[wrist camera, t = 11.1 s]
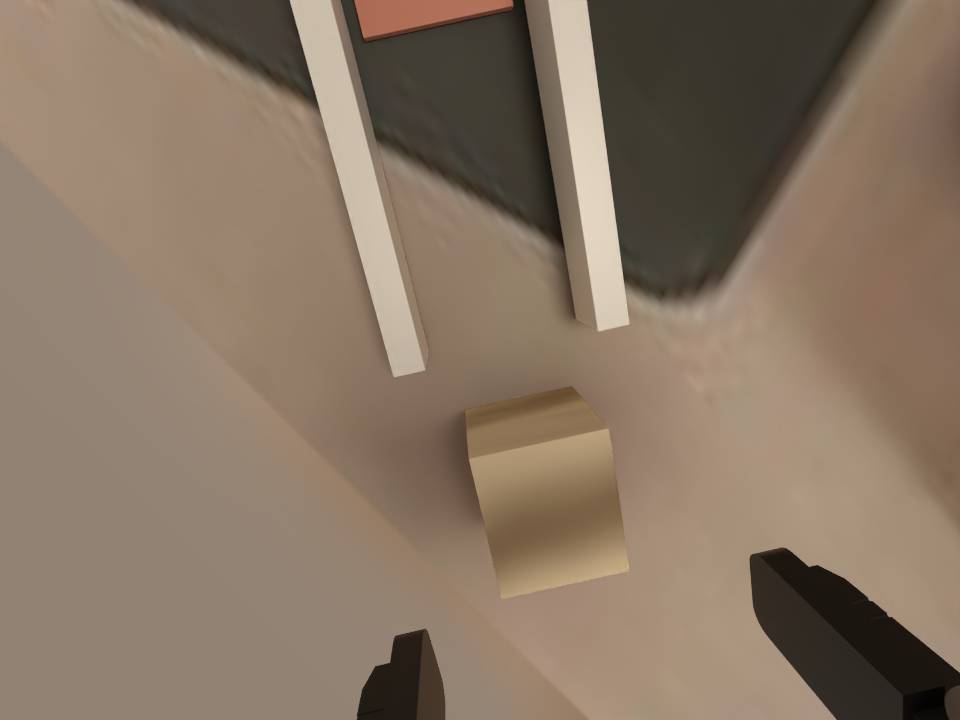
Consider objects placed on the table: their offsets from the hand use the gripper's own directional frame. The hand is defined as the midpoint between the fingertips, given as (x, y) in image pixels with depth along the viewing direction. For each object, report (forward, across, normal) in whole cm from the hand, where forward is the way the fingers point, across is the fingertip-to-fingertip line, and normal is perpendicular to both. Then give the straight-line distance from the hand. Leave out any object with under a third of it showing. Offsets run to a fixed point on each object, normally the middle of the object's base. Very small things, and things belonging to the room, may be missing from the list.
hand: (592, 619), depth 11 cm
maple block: (+10, 0, +1) cm, 10 cm away
